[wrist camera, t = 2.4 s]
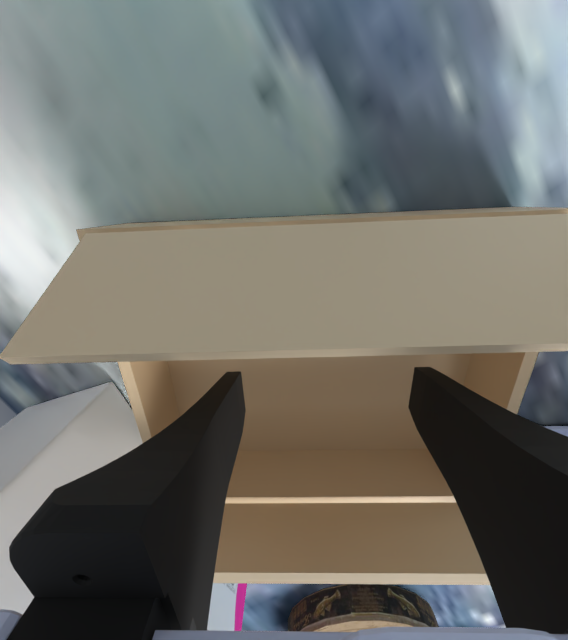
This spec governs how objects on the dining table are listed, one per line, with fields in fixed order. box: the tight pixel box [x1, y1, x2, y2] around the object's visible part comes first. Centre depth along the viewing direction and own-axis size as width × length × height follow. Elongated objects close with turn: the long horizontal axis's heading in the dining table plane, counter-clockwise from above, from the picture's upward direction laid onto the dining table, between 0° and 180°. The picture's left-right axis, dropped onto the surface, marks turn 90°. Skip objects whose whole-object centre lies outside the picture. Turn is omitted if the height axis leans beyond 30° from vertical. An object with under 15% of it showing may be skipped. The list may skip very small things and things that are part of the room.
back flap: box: [213, 502, 490, 585], centre depth 14 cm, size 19×6×1 cm
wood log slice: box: [288, 584, 439, 632], centre depth 30 cm, size 16×16×3 cm
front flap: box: [0, 214, 568, 364], centre depth 9 cm, size 19×6×1 cm
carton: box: [76, 207, 568, 503], centre depth 16 cm, size 20×17×4 cm
